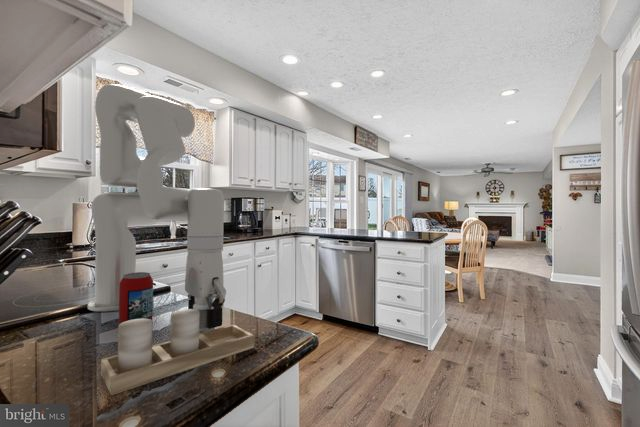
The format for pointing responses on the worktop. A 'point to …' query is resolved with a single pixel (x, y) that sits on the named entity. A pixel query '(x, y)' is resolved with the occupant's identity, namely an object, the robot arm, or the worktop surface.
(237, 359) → the worktop surface
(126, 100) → the robot arm
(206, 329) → the pill bottle
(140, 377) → the beige long tray
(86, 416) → the worktop surface
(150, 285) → the beverage can
